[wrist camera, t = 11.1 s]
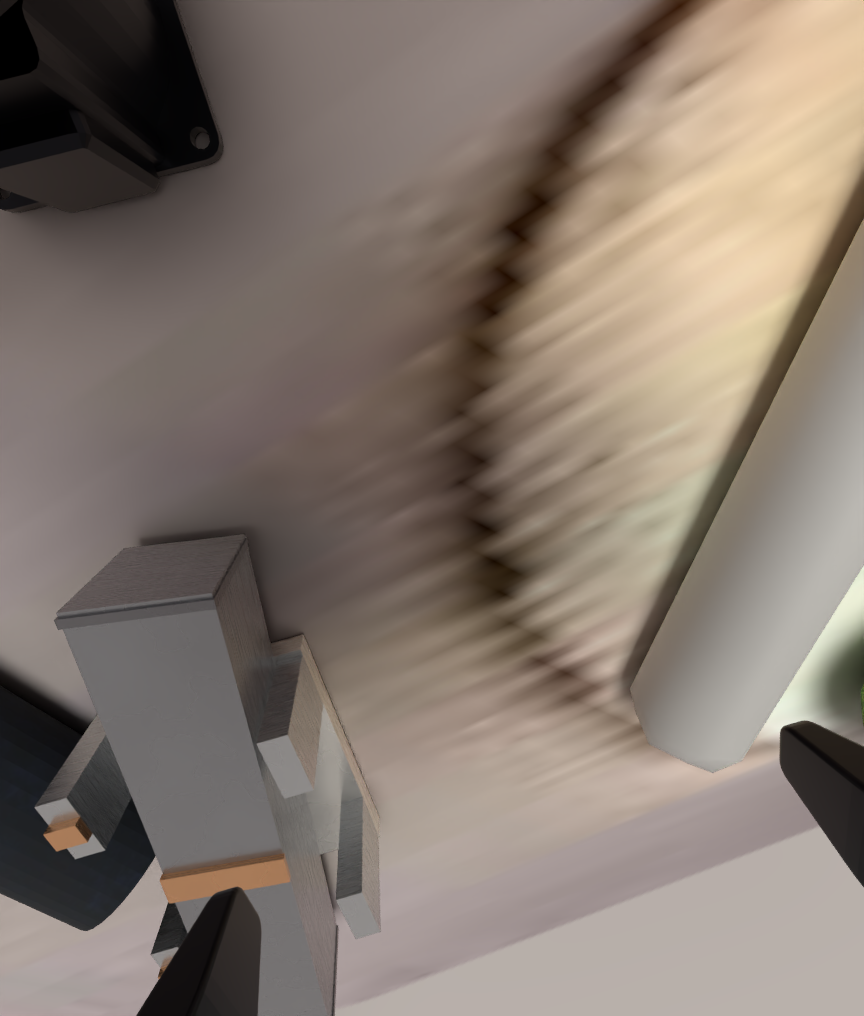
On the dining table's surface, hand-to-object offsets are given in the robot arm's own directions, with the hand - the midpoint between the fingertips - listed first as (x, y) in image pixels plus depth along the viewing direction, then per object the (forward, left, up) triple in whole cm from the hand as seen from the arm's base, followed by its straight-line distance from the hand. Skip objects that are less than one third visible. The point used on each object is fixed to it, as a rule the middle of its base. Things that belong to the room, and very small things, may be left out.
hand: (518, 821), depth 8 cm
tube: (+1, +14, -12) cm, 19 cm away
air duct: (+8, -10, -11) cm, 17 cm away
